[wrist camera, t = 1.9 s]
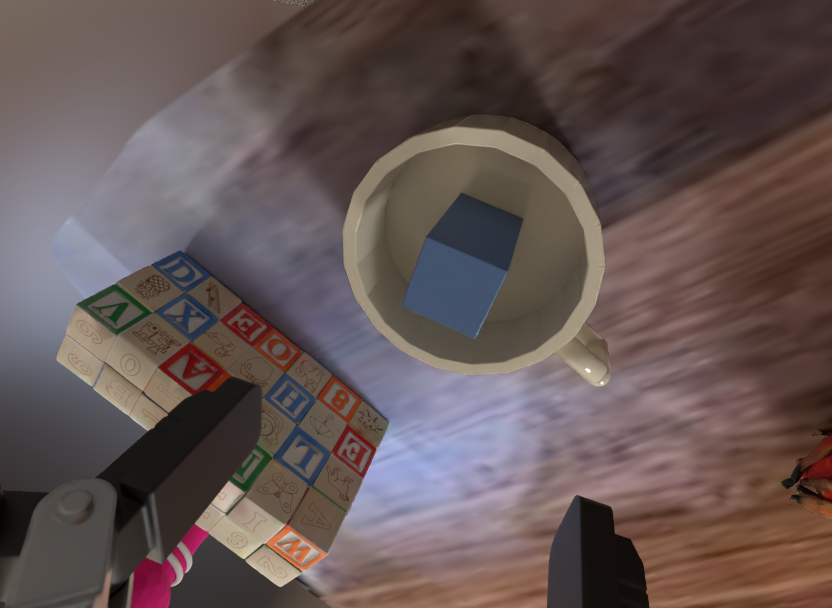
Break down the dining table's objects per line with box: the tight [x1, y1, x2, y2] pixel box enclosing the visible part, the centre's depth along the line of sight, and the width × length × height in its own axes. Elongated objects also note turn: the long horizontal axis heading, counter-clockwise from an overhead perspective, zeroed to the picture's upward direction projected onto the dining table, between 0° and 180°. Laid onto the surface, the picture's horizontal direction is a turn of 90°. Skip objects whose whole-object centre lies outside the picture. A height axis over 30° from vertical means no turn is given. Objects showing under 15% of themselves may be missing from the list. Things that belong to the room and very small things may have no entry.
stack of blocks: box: [56, 251, 389, 587], centre depth 34 cm, size 21×6×12 cm, turn 52°
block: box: [401, 193, 523, 339], centre depth 26 cm, size 4×4×8 cm
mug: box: [343, 114, 611, 387], centre depth 28 cm, size 17×14×6 cm
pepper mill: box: [131, 524, 209, 608], centre depth 35 cm, size 7×7×20 cm
